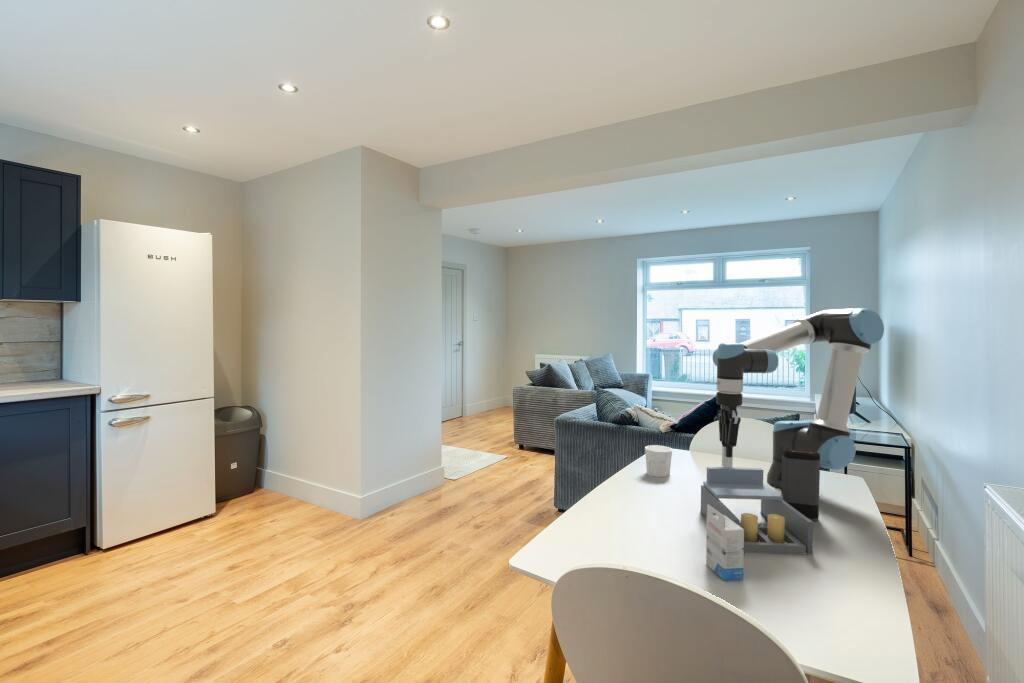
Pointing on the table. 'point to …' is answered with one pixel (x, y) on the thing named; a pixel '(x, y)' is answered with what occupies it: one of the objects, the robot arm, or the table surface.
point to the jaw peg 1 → (749, 527)
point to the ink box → (724, 546)
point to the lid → (739, 484)
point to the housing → (795, 526)
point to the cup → (658, 460)
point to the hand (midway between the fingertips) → (727, 466)
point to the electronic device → (801, 481)
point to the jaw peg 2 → (776, 528)
